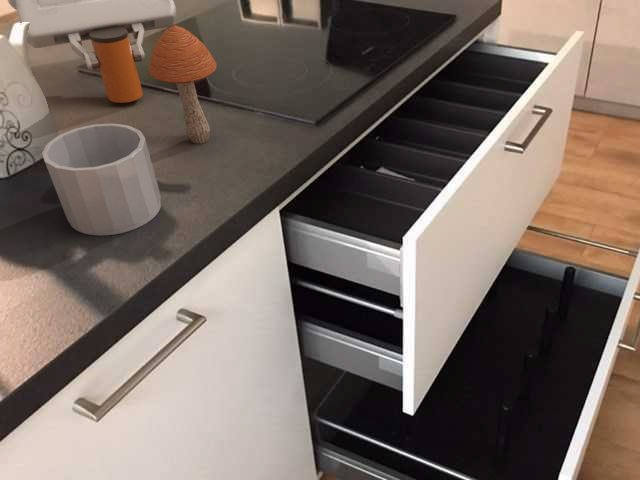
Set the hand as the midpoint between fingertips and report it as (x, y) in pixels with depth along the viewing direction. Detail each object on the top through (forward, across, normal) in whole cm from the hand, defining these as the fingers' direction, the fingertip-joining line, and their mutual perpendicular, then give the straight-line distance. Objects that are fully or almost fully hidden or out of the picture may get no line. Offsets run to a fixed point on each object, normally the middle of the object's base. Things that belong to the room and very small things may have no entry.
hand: (117, 63), depth 91 cm
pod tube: (+3, 0, +4) cm, 5 cm away
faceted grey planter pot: (+23, -8, -15) cm, 29 cm away
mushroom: (+16, +5, -8) cm, 18 cm away
